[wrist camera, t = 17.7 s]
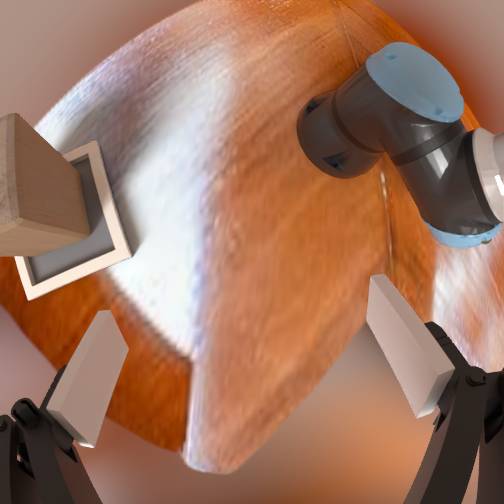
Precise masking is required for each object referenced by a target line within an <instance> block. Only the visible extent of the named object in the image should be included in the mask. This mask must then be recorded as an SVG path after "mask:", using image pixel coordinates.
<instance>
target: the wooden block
mask: <svg viewBox="0 0 504 504" xmlns="http://www.w3.org/2000/svg"><path fill="white" fill-rule="evenodd" d="M89 236H90V226H89V221H88V217H87V212H86V207H85V201H84V196H83V190H82V184H81V178H80V173H79V172H78V170H77V169H76V168H75V167H74V166H72V165H71V164H70V163H69V162H68V161H67V160H66V159H65V158H64V157H63V156H62V155H61V154H59V153H58V152H57V151H56V150H55V149H54V148H53V147H52V146H51V145H50V144H49V143H48V142H47V141H46V140H45V139H44V138H43V137H41V136H40V135H39V134H38V133H37V132H36V131H35V130H34V129H33V128H32V127H31V126H30V125H29V124H28V123H27V122H26V121H25V120H24V119H23V118H22V117H21V116H20V115H19V114H17V113H11V114H8V115H6V116H4V117H2V118H0V256H27V257H38V256H41V255H44V254H46V253H49V252H52V251H55V250H57V249H60V248H63V247H66V246H68V245H71V244H74V243H77V242H80V241H83V240H86V239H87V238H88V237H89Z"/></svg>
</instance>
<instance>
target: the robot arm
mask: <svg viewBox="0 0 504 504" xmlns="http://www.w3.org/2000/svg"><path fill="white" fill-rule="evenodd" d="M459 92H460V89H459V87H458V85H457V84H456V82H455V81H454V79H453V77H452V76H451V75H450V73H449V72H448V71H447V70H446V68H444V66H443V65H442V64H441V63H440V62H439V61H438V60H436V59H435V58H434V57H433V56H432V55H430V54H429V53H428V52H426V51H424V50H422V49H420V48H419V47H417V46H415V45H412V44H409V43H405V42H393V43H390V44H388V45H386V46H384V47H383V48H382V49H380V50H379V51H378V52H376V53H374V54H372V55H370V56H369V58H368V59H367V61H366V62H365V63H364V64H363V65H362V66H361V67H359V68H358V69H357V70H356V71H355V72H354V73H353V74H352V75H351V76H350V77H349V78H348V79H347V80H346V81H345V82H344V83H343V84H342V85H341V86H340V87H339V88H338V89H335V90H332V91H329V92H326V93H323V94H320V95H317V96H315V97H314V98H312V99H311V100H310V101H309V102H308V103H307V104H306V105H305V106H304V107H303V108H302V110H301V112H300V114H299V116H298V120H297V135H298V139H299V142H300V145H301V147H302V149H303V151H304V152H305V154H306V155H307V157H308V158H309V159H310V160H311V162H312V163H313V164H314V165H315V166H317V167H318V168H319V169H320V170H322V171H323V172H325V173H327V174H329V175H331V176H333V177H337V178H342V179H350V178H354V177H357V176H360V175H362V174H364V173H366V172H368V171H369V170H370V169H371V168H372V167H373V166H374V165H375V164H376V162H377V161H378V160H379V158H380V157H381V156H382V154H383V153H384V152H385V151H386V152H387V154H388V155H389V157H390V158H391V160H392V162H393V163H394V165H395V167H396V169H397V170H398V172H399V174H400V176H401V177H402V179H403V181H404V183H405V185H406V186H407V188H408V190H409V192H410V194H411V196H412V198H413V199H414V201H415V203H416V205H417V207H418V209H419V212H420V216H421V218H422V220H423V221H424V223H425V224H426V225H427V226H428V228H429V230H430V232H431V234H432V236H433V237H434V238H435V239H436V240H437V241H438V242H439V243H441V244H443V245H445V246H448V247H452V248H470V247H474V246H478V245H480V244H481V242H482V241H489V240H490V239H492V238H493V237H494V236H496V234H497V233H498V232H499V231H500V229H501V227H502V224H503V223H504V132H503V133H500V134H497V135H493V134H491V133H490V132H488V131H486V130H485V129H483V128H477V129H474V130H472V131H470V132H467V130H466V129H465V127H464V125H463V123H462V121H461V120H460V117H461V115H462V113H463V110H464V101H463V97H462V96H461V95H460V93H459ZM366 321H367V323H368V324H369V326H370V328H371V330H372V331H373V333H374V335H375V337H376V339H377V341H378V343H379V344H380V346H381V348H382V350H383V352H384V354H385V356H386V358H387V359H388V361H389V363H390V365H391V367H392V369H393V371H394V373H395V375H396V377H397V379H398V381H399V383H400V385H401V387H402V389H403V391H404V393H405V395H406V397H407V399H408V401H409V403H410V405H411V407H412V409H413V411H414V414H415V416H416V418H420V417H422V416H425V415H427V414H430V413H432V412H433V411H434V409H435V407H436V405H438V406H439V408H440V410H441V411H440V413H439V414H438V416H437V418H436V419H435V421H434V423H433V425H435V428H434V431H433V434H432V437H431V439H430V443H429V445H428V448H427V451H426V453H425V456H424V459H423V461H422V463H421V466H420V468H419V471H418V473H417V475H416V478H415V480H414V482H413V485H412V486H411V489H410V491H409V493H408V495H407V497H406V499H405V501H404V503H403V504H461V503H462V500H463V497H464V495H465V492H466V489H467V486H468V483H469V480H470V476H471V473H472V470H473V466H474V462H475V459H476V455H477V451H478V446H480V448H479V454H480V455H479V478H478V491H477V500H476V504H504V368H503V369H502V371H499V372H492V373H486V372H485V371H484V370H483V369H481V368H479V367H476V366H470V365H469V364H468V362H467V361H466V359H465V358H464V357H463V355H462V354H461V353H460V351H459V350H458V349H457V347H456V346H455V345H454V343H452V341H451V339H450V338H449V337H447V334H446V333H445V331H444V330H443V329H442V328H441V327H440V326H439V325H437V324H435V323H434V322H432V321H431V322H428V323H425V324H424V323H423V322H422V321H421V319H420V318H419V317H418V315H417V314H416V313H415V312H414V310H413V309H412V308H411V306H410V305H409V304H408V303H407V301H406V300H405V299H404V297H403V296H402V295H401V294H400V292H399V291H398V290H397V289H396V287H395V286H394V285H393V284H392V283H391V281H390V280H389V279H388V278H387V276H386V275H385V274H379V275H374V276H370V287H369V298H368V308H367V317H366ZM128 350H129V348H128V346H127V344H126V342H125V340H124V338H123V336H122V334H121V332H120V330H119V328H118V326H117V324H116V321H115V319H114V317H113V315H112V313H111V310H104V311H98V313H97V314H96V316H95V318H94V319H93V321H92V323H91V324H90V326H89V328H88V330H87V331H86V333H85V335H84V336H83V338H82V340H81V342H80V343H79V345H78V347H77V349H76V351H75V352H74V354H73V356H72V358H71V360H70V362H69V363H68V365H64V366H63V367H62V368H61V369H60V370H59V371H58V373H57V375H56V377H55V378H54V382H52V384H51V386H50V387H51V388H49V390H48V392H47V394H46V396H45V398H44V400H43V402H42V404H41V406H40V408H39V409H38V408H37V407H36V405H35V404H34V403H33V402H32V401H31V400H30V399H29V398H22V399H20V400H18V401H17V402H16V403H15V404H14V405H13V407H12V409H11V415H12V417H13V418H14V419H15V420H16V422H14V421H13V420H12V419H11V418H10V417H9V416H8V415H2V416H0V504H103V503H102V502H101V500H100V498H99V497H98V494H97V492H96V490H95V488H94V487H93V485H92V483H91V481H90V479H89V477H88V474H87V473H86V470H85V468H84V466H83V464H82V462H81V459H80V457H79V454H78V452H77V450H76V448H75V446H74V445H73V444H72V443H73V440H74V439H75V440H76V441H77V442H78V443H79V444H80V445H82V446H87V447H92V448H95V445H96V442H97V438H98V435H99V432H100V428H101V426H102V422H103V419H104V416H105V413H106V410H107V408H108V405H109V402H110V399H111V396H112V393H113V390H114V387H115V385H116V382H117V379H118V376H119V374H120V371H121V368H122V366H123V363H124V361H125V358H126V355H127V353H128ZM17 455H19V456H20V462H19V461H18V460H17Z"/></svg>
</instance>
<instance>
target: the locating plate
mask: <svg viewBox="0 0 504 504" xmlns="http://www.w3.org/2000/svg"><path fill="white" fill-rule="evenodd" d="M62 156H63V157H64V158H65V159H66V160H67V161H68V162H69V163H70V164H71V165H72V166H74V167H75V168H76V169H77V170H78V172H79V173H80V178H81V184H82V190H83V196H84V201H85V207H86V212H87V217H88V221H89V226H90V236H89V237H88V238H87V239H86V240H83V241H80V242H77V243H74V244H71V245H68V246H66V247H63V248H60V249H57V250H55V251H52V252H49V253H46V254H44V255H41V256H38V257H27V256H15V260H16V264H17V267H18V270H19V274H20V277H21V280H22V283H23V286H24V289H25V292H26V295H27V298H28V301H29V300H32V299H35V298H38V297H40V296H42V295H45V294H47V293H49V292H51V291H53V290H56V289H58V288H60V287H63V286H65V285H67V284H69V283H72V282H74V281H76V280H79V279H81V278H83V277H86V276H88V275H90V274H93V273H95V272H97V271H100V270H102V269H105V268H107V267H109V266H112V265H114V264H117V263H119V262H121V261H124V260H126V259H129V258H131V257H133V254H132V252H131V249H130V246H129V243H128V240H127V237H126V234H125V232H124V229H123V226H122V222H121V219H120V216H119V213H118V210H117V207H116V203H115V200H114V197H113V193H112V190H111V187H110V183H109V179H108V176H107V172H106V168H105V165H104V161H103V157H102V153H101V149H100V146H99V144H98V143H97V141H96V140H94V141H92V142H89V143H87V144H85V145H83V146H80V147H78V148H76V149H74V150H72V151H70V152H67V153H65V154H63V155H62Z"/></svg>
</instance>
